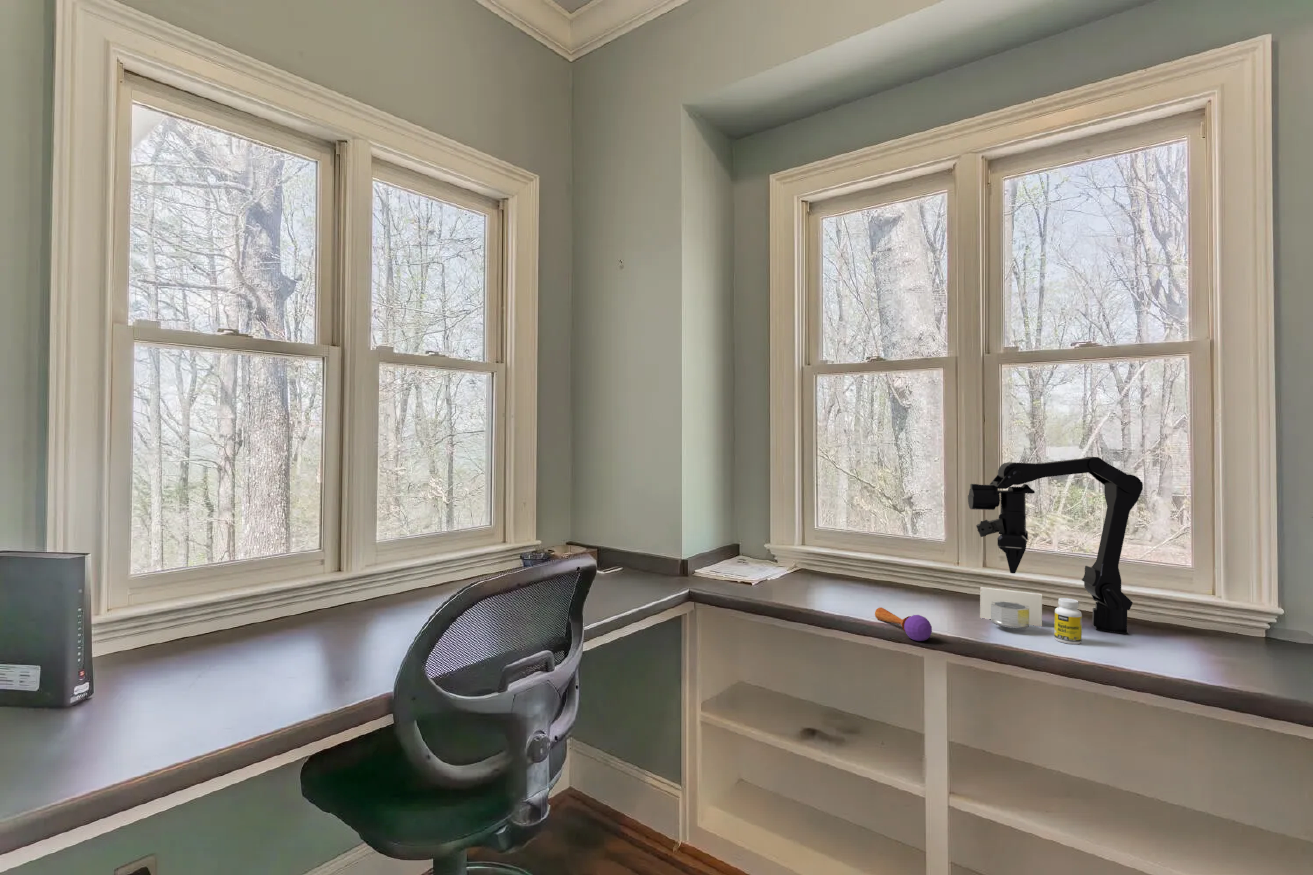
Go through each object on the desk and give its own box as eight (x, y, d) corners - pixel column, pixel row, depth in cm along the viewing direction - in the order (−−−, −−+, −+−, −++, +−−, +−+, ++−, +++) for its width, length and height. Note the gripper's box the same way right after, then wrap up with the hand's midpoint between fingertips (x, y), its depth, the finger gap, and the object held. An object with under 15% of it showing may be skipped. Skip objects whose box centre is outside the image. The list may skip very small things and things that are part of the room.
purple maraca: (892, 604, 164) (938, 619, 145) (889, 626, 164) (935, 645, 144) (871, 600, 163) (915, 615, 144) (868, 623, 163) (911, 641, 143)
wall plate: (1041, 624, 160) (1041, 593, 160) (1041, 626, 158) (1042, 595, 158) (980, 616, 167) (980, 586, 167) (980, 618, 166) (980, 588, 166)
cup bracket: (1028, 619, 160) (1028, 601, 160) (1029, 630, 150) (1029, 611, 150) (992, 614, 164) (992, 597, 164) (990, 624, 154) (990, 606, 154)
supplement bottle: (1053, 641, 146) (1054, 600, 146) (1054, 636, 151) (1054, 595, 151) (1081, 646, 143) (1082, 603, 143) (1081, 640, 148) (1081, 599, 148)
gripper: (981, 505, 175) (982, 561, 174) (974, 512, 159) (975, 573, 159) (1027, 507, 169) (1028, 565, 168) (1025, 514, 153) (1026, 578, 153)
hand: (1013, 570), depth 162 cm, fingers open, 9 cm apart
